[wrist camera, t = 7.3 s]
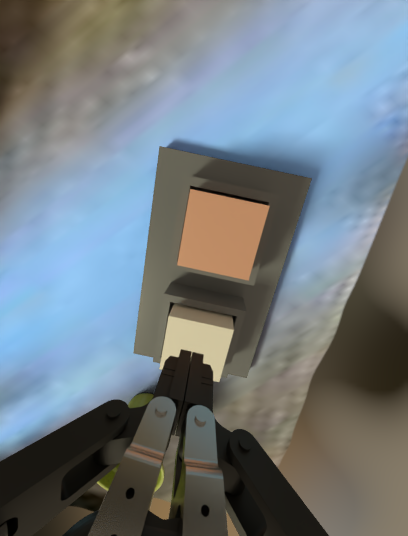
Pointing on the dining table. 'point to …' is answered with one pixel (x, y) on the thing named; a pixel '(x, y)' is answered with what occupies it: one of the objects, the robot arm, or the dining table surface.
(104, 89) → the dining table surface
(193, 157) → the key panel
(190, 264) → the terracotta key
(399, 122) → the dining table surface
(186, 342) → the cream key
